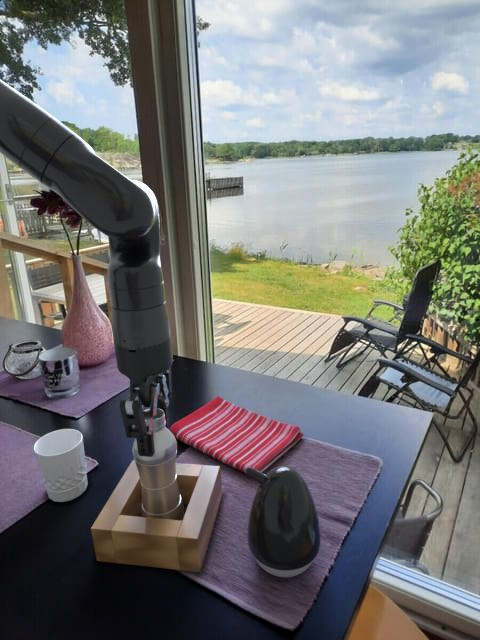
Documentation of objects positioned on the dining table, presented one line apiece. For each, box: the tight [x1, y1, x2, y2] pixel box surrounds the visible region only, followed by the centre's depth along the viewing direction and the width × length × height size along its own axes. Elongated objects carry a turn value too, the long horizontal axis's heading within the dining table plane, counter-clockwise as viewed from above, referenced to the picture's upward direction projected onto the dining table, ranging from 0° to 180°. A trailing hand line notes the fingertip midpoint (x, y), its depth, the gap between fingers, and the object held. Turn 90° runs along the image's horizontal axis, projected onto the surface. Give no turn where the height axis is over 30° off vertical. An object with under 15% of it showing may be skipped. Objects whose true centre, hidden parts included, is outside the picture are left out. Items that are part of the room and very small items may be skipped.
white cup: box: [33, 428, 89, 503], centre depth 77 cm, size 8×8×10 cm
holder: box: [90, 459, 223, 573], centre depth 69 cm, size 16×16×6 cm
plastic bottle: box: [131, 408, 185, 521], centre depth 67 cm, size 6×7×20 cm
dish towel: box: [168, 395, 304, 474], centre depth 92 cm, size 17×24×3 cm
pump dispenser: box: [245, 465, 322, 578], centre depth 61 cm, size 10×10×15 cm
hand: (154, 441), depth 65 cm, fingers closed on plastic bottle, 6 cm apart
